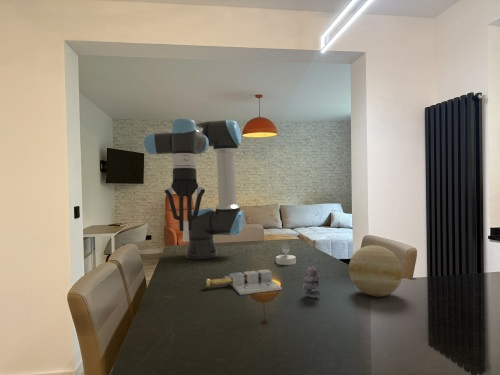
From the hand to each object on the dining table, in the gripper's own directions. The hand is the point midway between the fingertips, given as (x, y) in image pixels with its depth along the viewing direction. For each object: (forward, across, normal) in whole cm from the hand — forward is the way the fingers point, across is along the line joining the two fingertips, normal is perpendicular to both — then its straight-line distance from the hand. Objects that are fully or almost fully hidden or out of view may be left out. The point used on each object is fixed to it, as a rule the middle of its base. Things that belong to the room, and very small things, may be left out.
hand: (185, 240), depth 103 cm
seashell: (+16, +34, -20) cm, 43 cm away
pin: (+16, +15, 0) cm, 22 cm away
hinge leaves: (+16, +22, 0) cm, 27 cm away
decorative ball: (+16, +53, -25) cm, 61 cm away
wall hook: (+16, +46, +23) cm, 54 cm away
